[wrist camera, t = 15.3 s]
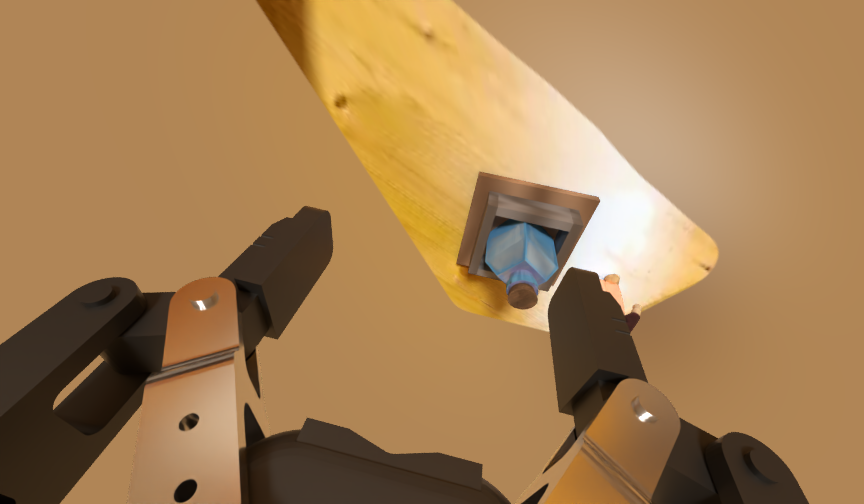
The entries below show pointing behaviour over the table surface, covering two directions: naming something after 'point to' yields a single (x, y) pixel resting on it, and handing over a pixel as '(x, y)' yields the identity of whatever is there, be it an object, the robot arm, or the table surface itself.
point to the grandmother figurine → (613, 288)
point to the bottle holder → (523, 218)
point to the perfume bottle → (521, 259)
